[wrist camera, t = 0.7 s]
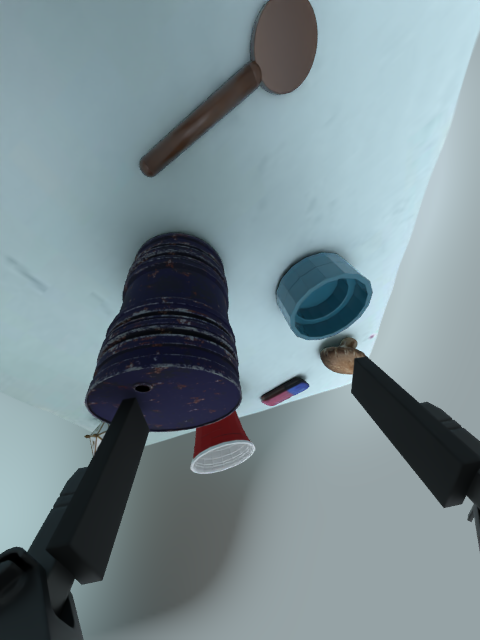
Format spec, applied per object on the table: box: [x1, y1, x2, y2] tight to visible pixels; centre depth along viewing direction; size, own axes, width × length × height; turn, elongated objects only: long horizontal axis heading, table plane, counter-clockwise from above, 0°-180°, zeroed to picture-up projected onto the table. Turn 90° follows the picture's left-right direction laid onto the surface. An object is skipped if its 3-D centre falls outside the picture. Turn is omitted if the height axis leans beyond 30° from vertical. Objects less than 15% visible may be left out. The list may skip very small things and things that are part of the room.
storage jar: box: [85, 233, 242, 432], centre depth 20 cm, size 10×10×15 cm
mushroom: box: [320, 337, 366, 374], centre depth 41 cm, size 8×8×6 cm
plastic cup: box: [191, 411, 255, 474], centre depth 41 cm, size 11×11×12 cm
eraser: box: [261, 378, 309, 406], centre depth 49 cm, size 11×4×2 cm, turn 127°
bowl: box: [277, 252, 372, 340], centre depth 29 cm, size 10×10×6 cm
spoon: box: [139, 0, 318, 177], centre depth 16 cm, size 15×4×1 cm, turn 121°
